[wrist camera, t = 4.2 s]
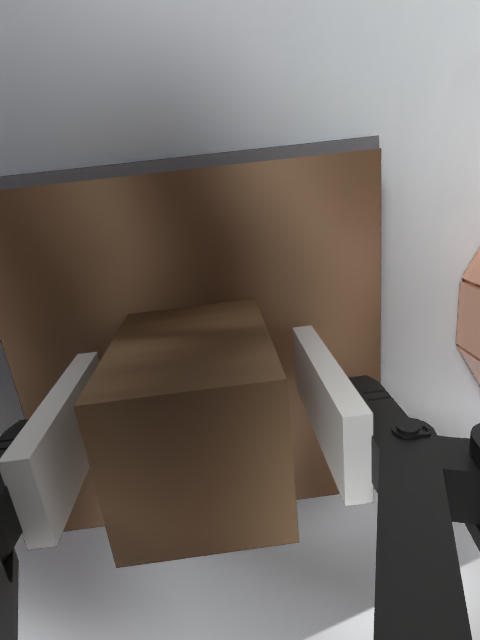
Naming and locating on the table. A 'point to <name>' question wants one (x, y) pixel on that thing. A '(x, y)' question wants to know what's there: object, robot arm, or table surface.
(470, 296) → the terracotta bowl
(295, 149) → the rubber mat
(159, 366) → the walnut lid
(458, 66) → the table surface
